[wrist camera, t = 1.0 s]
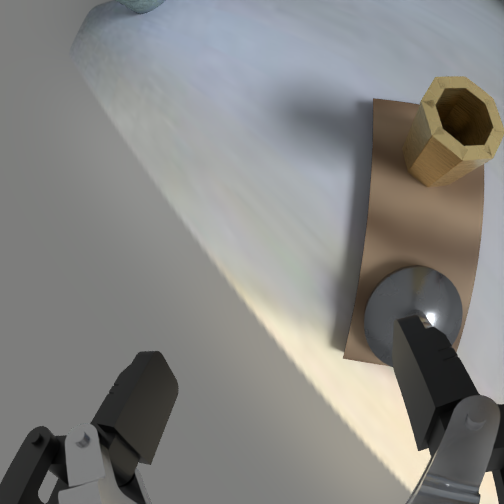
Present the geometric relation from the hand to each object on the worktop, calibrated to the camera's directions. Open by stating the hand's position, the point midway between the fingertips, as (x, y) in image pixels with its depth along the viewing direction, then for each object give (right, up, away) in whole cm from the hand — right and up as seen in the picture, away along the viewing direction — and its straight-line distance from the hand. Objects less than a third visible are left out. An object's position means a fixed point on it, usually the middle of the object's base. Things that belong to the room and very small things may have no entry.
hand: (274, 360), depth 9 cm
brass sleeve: (+15, +12, +12) cm, 22 cm away
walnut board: (+15, +5, +14) cm, 21 cm away
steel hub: (+13, -2, +13) cm, 19 cm away
